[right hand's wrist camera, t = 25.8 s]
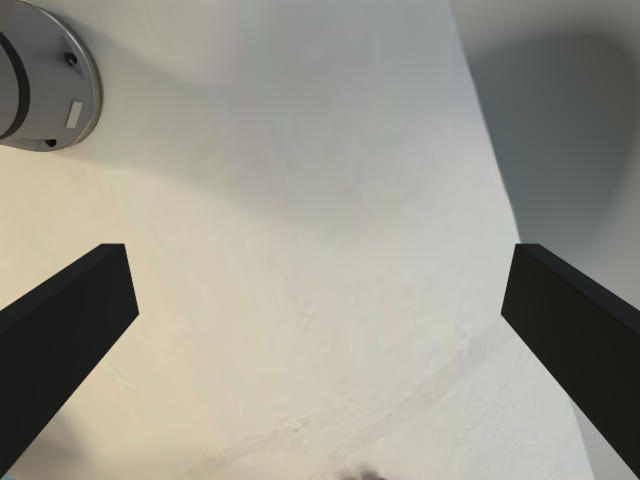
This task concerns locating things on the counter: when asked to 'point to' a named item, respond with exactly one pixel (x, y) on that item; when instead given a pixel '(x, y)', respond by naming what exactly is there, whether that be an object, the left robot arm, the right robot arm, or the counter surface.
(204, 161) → the counter surface
